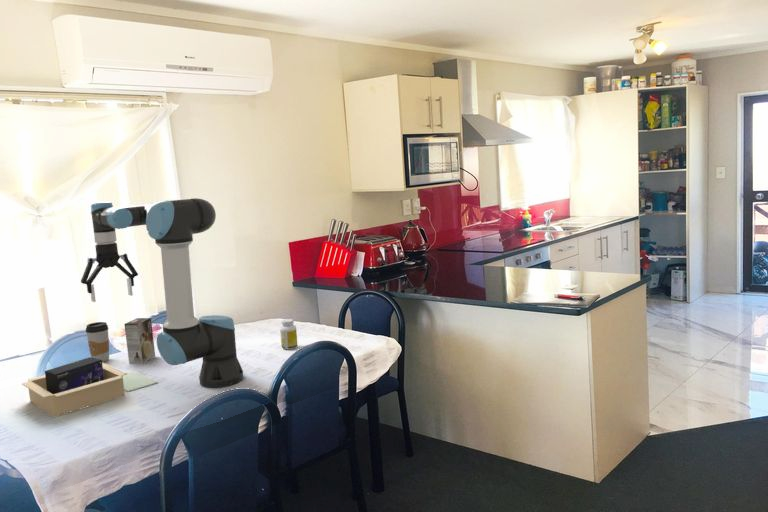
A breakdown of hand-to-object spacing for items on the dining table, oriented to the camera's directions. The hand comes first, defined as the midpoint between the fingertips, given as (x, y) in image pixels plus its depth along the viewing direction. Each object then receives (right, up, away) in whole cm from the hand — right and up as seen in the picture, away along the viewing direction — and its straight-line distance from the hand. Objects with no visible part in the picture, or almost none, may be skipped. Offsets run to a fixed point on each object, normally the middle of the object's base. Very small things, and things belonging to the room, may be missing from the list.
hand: (112, 298), depth 245 cm
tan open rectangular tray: (0, -32, -29) cm, 43 cm away
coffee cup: (-10, -26, +12) cm, 30 cm away
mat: (+12, -29, -14) cm, 34 cm away
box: (0, -32, -29) cm, 43 cm away
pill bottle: (+65, -22, +18) cm, 71 cm away
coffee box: (+7, -25, +11) cm, 29 cm away
